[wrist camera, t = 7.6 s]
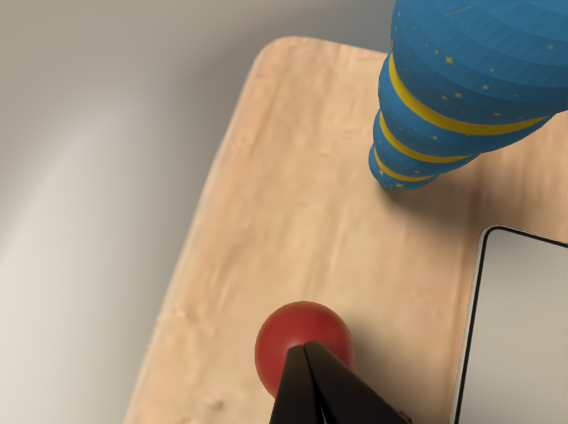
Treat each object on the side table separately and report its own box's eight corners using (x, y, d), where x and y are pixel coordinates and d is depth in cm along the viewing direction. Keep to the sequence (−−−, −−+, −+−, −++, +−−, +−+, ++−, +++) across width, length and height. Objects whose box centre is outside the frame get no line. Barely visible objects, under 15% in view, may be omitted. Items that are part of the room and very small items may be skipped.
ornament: (449, 169, 19) (1002, -312, 4) (407, 252, 17) (968, -22, 3) (363, 125, 19) (576, -408, 5) (317, 201, 18) (423, -206, 4)
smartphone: (638, 262, 17) (625, 646, 13) (626, 264, 18) (609, 631, 14) (484, 219, 18) (427, 570, 14) (477, 222, 18) (421, 559, 14)
